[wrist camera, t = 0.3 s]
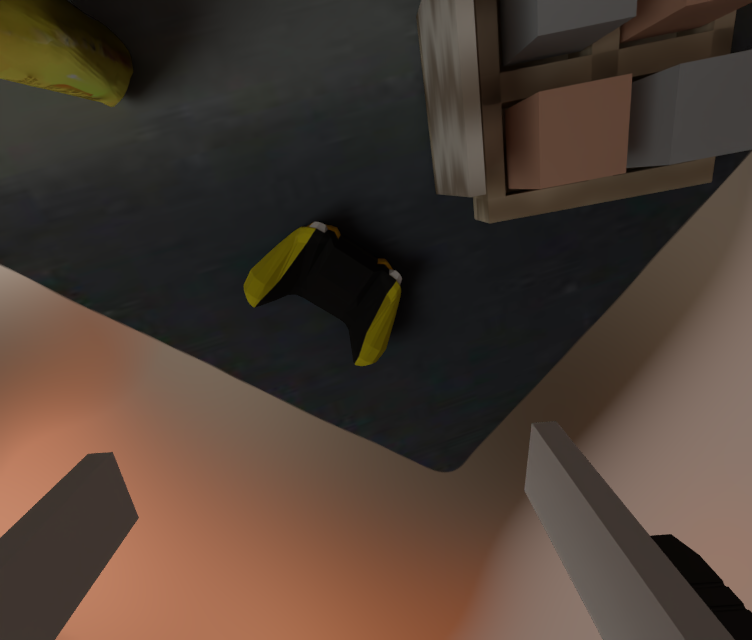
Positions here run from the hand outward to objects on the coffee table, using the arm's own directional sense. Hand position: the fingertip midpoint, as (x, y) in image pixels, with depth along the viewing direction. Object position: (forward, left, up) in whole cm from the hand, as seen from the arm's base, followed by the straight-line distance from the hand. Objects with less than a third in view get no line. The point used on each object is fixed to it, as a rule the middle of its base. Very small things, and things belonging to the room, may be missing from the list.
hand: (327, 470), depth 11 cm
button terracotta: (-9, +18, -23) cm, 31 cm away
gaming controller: (0, -2, -28) cm, 28 cm away
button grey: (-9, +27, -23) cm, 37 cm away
